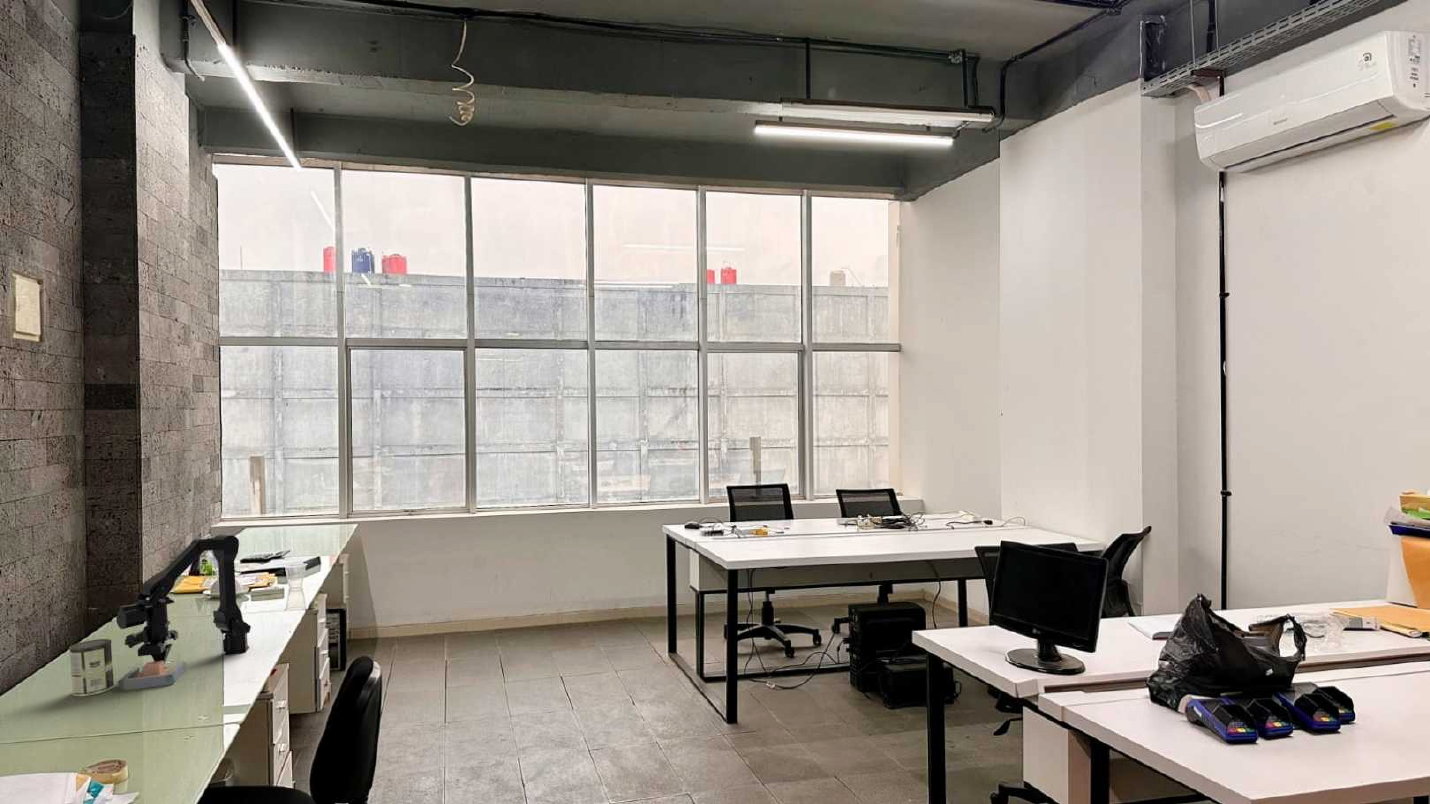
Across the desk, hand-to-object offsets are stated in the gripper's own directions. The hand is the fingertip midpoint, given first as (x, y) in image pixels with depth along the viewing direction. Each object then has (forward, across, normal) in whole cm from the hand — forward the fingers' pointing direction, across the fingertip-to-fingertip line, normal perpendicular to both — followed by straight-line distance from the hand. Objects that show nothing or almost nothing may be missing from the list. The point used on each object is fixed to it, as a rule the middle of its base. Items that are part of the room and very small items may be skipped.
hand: (160, 669), depth 273 cm
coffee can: (+1, +9, -15) cm, 18 cm away
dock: (+1, +6, 0) cm, 6 cm away
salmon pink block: (-1, +6, 0) cm, 6 cm away
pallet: (+1, +5, 0) cm, 5 cm away
